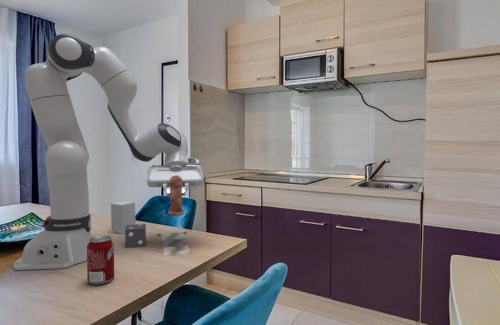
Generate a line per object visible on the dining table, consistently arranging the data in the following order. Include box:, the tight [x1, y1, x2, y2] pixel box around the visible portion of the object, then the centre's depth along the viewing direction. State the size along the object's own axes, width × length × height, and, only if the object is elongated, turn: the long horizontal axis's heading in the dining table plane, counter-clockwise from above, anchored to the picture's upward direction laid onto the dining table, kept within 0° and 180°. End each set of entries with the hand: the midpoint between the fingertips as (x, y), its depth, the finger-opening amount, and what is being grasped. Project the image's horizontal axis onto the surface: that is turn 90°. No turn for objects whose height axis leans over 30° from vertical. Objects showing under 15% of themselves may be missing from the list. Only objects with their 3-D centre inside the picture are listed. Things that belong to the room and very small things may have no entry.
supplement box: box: [110, 200, 136, 235], centre depth 135 cm, size 7×7×13 cm
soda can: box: [86, 235, 115, 286], centre depth 85 cm, size 7×7×12 cm
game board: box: [156, 231, 192, 257], centre depth 119 cm, size 12×28×1 cm, turn 18°
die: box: [124, 223, 147, 249], centre depth 116 cm, size 7×7×7 cm
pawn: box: [168, 175, 184, 217], centre depth 109 cm, size 5×5×14 cm
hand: (175, 194), depth 109 cm, fingers closed on pawn, 4 cm apart
